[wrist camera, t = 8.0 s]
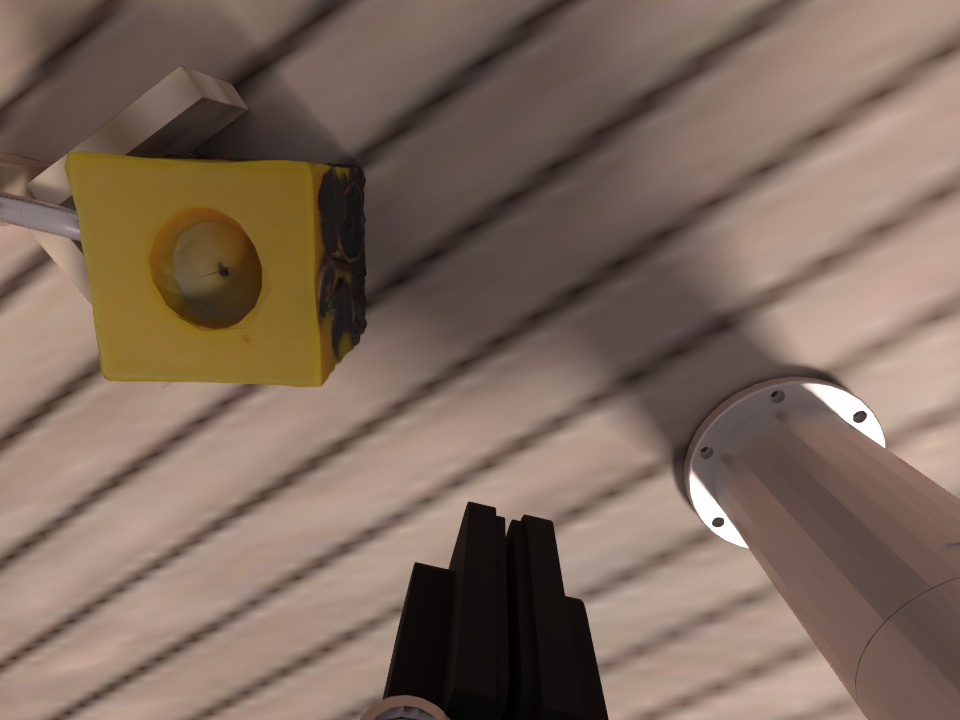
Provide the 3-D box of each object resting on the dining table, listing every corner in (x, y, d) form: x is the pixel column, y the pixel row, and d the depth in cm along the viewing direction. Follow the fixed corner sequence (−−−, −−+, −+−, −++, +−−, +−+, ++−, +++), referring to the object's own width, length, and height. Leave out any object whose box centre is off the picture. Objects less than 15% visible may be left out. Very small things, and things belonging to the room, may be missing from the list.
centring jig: (250, 88, 29) (204, 71, 24) (224, 362, 34) (181, 392, 29) (3, 22, 28) (-96, -9, 23) (15, 313, 33) (-63, 336, 29)
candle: (208, 326, 33) (98, 386, 24) (187, 155, 30) (49, 146, 21) (370, 335, 33) (323, 398, 24) (367, 164, 30) (310, 159, 21)
